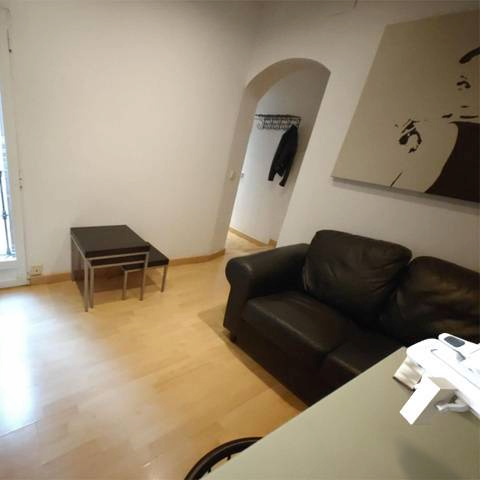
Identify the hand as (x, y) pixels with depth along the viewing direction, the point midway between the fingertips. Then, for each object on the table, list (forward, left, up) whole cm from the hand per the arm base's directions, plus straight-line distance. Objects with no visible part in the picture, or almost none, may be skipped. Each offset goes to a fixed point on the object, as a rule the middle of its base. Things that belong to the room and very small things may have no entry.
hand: (426, 399), depth 60 cm
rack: (-13, -25, -15) cm, 32 cm away
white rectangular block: (-1, 0, -7) cm, 7 cm away
